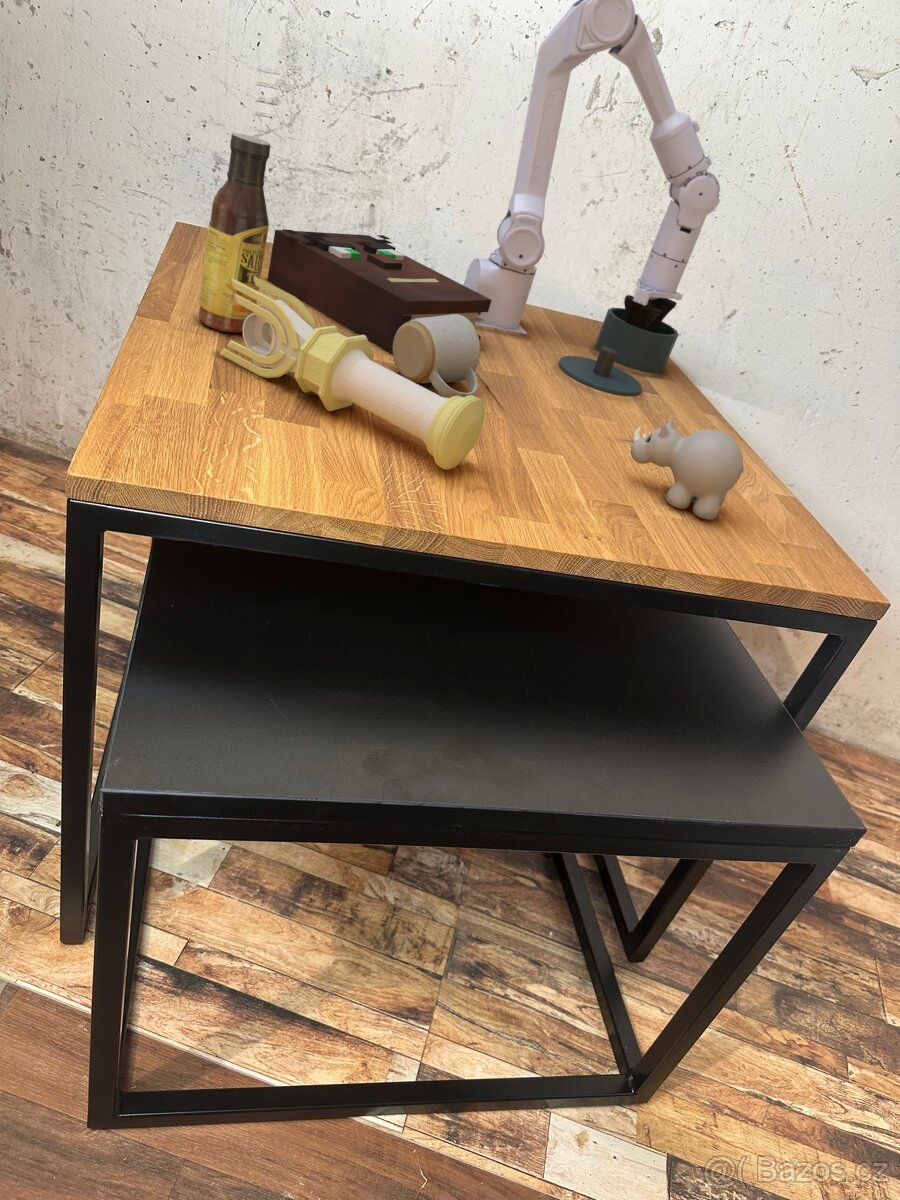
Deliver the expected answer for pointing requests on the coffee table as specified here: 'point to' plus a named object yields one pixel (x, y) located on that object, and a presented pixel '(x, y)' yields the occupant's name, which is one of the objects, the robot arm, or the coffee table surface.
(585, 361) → the lid
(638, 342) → the bowl
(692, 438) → the chubby cartoon animal
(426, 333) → the ceramic mug
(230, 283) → the sauce bottle
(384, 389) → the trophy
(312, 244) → the dark brown wooden box
